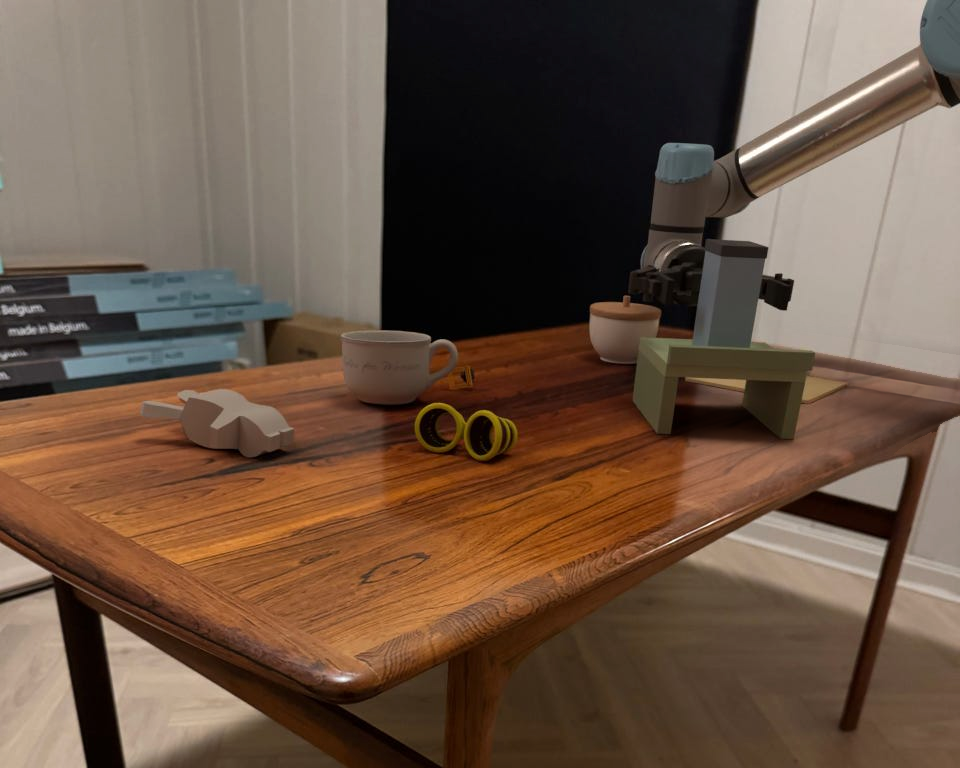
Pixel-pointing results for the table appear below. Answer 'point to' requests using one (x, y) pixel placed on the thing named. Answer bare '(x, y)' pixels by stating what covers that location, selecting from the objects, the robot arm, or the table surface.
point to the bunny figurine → (225, 421)
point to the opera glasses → (466, 432)
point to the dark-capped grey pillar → (729, 293)
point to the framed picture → (463, 377)
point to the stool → (765, 369)
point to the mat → (812, 391)
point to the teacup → (391, 365)
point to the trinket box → (621, 329)
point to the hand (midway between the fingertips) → (728, 295)
